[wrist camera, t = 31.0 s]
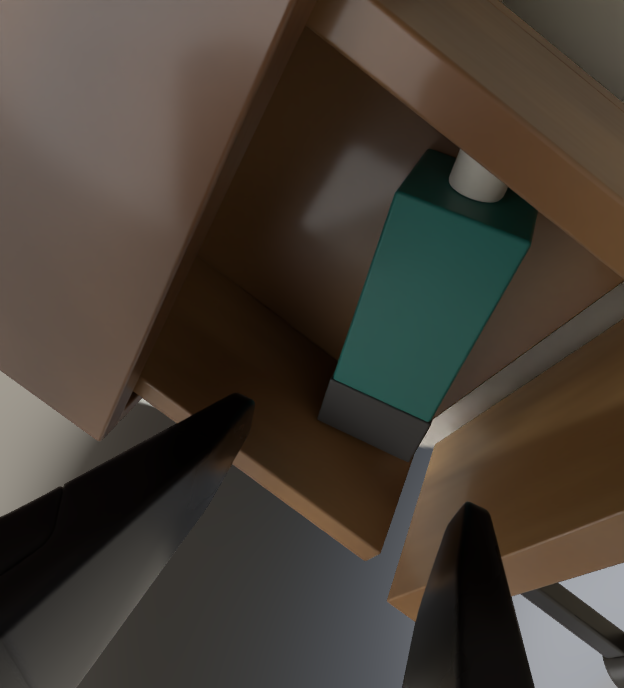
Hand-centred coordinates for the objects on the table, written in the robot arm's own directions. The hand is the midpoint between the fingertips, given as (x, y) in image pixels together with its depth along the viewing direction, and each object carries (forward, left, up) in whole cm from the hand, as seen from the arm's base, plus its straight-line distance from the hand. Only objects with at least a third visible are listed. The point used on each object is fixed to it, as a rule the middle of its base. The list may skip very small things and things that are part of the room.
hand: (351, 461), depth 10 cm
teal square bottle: (0, 0, -7) cm, 7 cm away
